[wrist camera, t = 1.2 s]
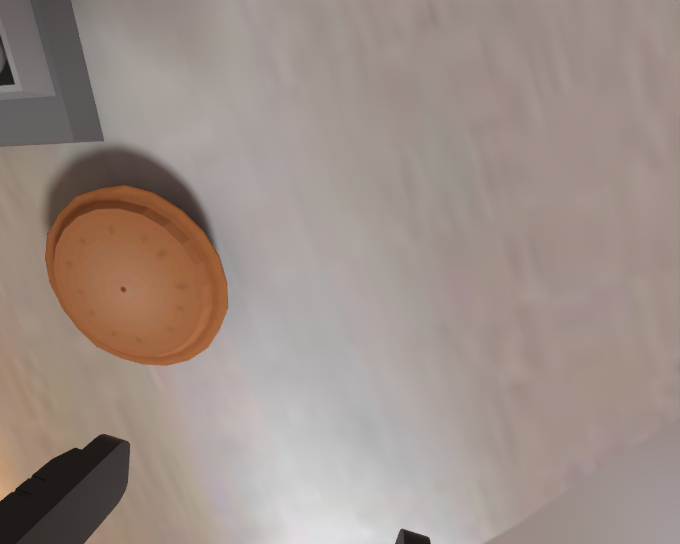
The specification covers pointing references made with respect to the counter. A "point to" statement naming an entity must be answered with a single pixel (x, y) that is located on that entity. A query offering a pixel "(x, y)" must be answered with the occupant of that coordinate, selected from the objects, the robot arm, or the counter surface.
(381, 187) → the counter surface
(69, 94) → the button panel
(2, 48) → the white button
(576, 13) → the counter surface
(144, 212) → the pie
